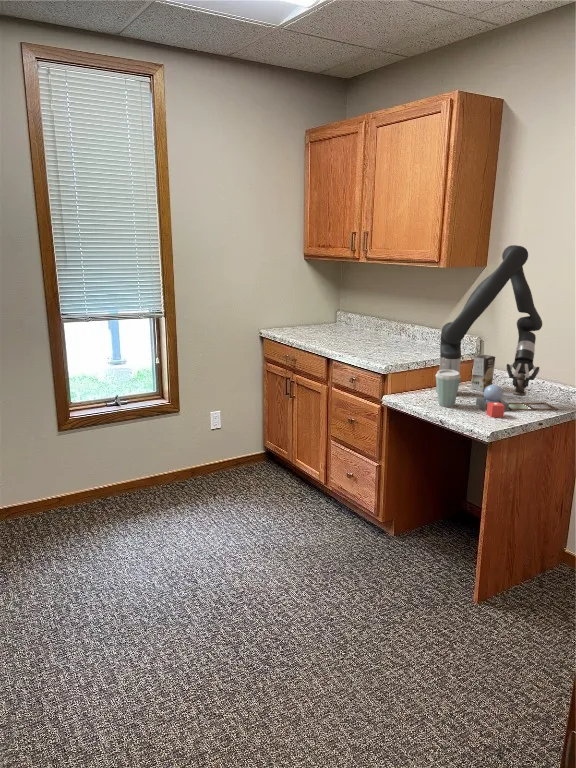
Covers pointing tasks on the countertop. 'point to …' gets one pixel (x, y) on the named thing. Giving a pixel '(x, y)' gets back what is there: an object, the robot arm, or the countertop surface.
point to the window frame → (522, 407)
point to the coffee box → (483, 372)
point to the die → (495, 409)
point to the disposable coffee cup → (447, 387)
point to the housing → (483, 403)
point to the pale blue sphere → (493, 393)
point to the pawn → (520, 385)
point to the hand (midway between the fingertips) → (520, 386)
